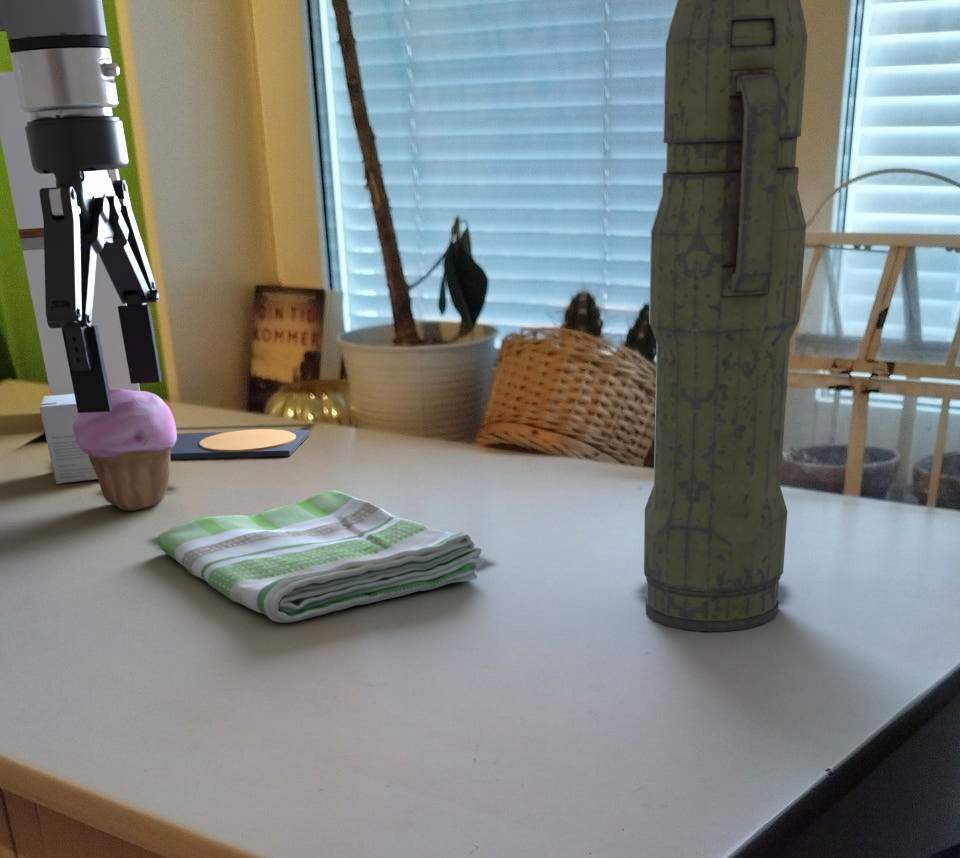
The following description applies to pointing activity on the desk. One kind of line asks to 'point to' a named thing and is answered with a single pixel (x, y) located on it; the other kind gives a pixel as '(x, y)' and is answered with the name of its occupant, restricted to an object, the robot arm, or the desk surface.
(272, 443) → the placemat
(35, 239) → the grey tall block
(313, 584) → the dish towel
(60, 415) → the product carton
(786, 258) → the thermos
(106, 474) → the cupcake
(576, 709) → the desk surface
